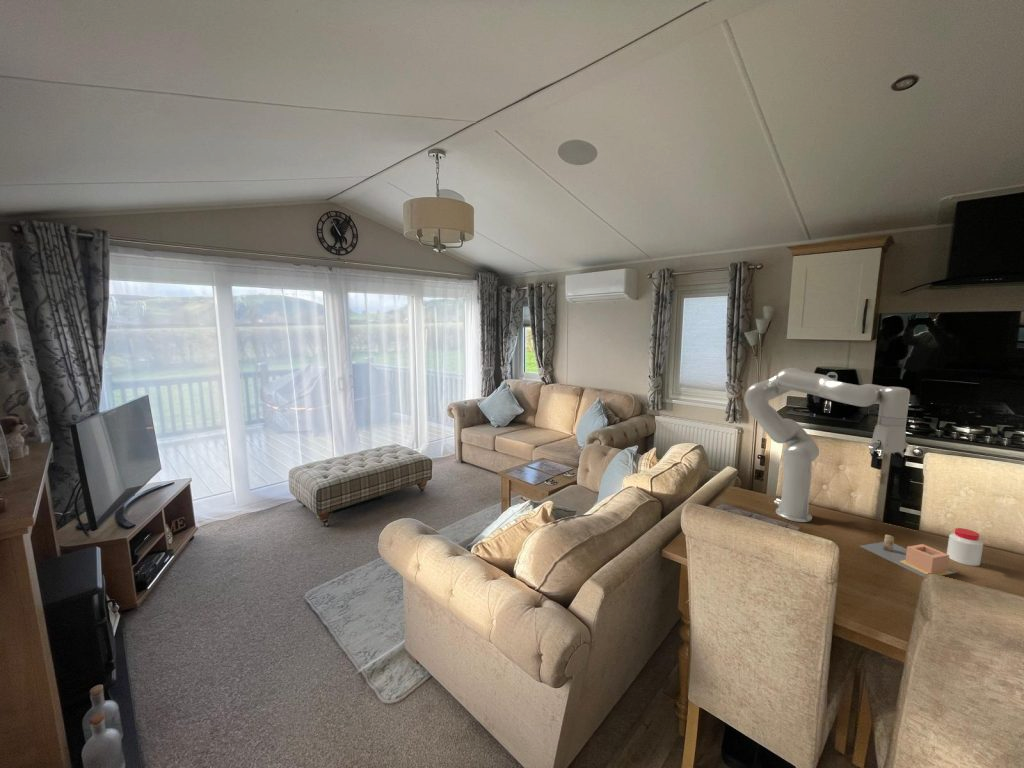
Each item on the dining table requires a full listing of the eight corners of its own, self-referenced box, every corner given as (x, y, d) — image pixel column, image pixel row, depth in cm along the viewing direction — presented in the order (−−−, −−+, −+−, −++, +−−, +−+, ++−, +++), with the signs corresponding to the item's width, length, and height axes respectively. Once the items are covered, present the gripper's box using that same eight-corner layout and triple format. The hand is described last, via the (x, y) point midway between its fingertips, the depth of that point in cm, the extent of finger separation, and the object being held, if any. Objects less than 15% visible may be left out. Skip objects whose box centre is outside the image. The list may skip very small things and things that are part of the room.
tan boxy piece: (905, 562, 137) (907, 546, 136) (920, 559, 138) (922, 544, 137) (930, 574, 130) (933, 557, 129) (946, 571, 131) (949, 555, 131)
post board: (858, 549, 147) (860, 532, 147) (888, 544, 151) (890, 528, 150) (926, 581, 128) (928, 563, 127) (958, 575, 131) (960, 557, 131)
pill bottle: (974, 571, 134) (979, 539, 132) (941, 559, 140) (946, 529, 139) (983, 565, 137) (988, 534, 136) (950, 554, 144) (955, 524, 143)
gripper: (897, 417, 153) (892, 462, 155) (862, 420, 149) (857, 466, 151) (922, 422, 146) (915, 468, 148) (885, 425, 142) (879, 472, 144)
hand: (886, 467), depth 150 cm, fingers open, 9 cm apart
